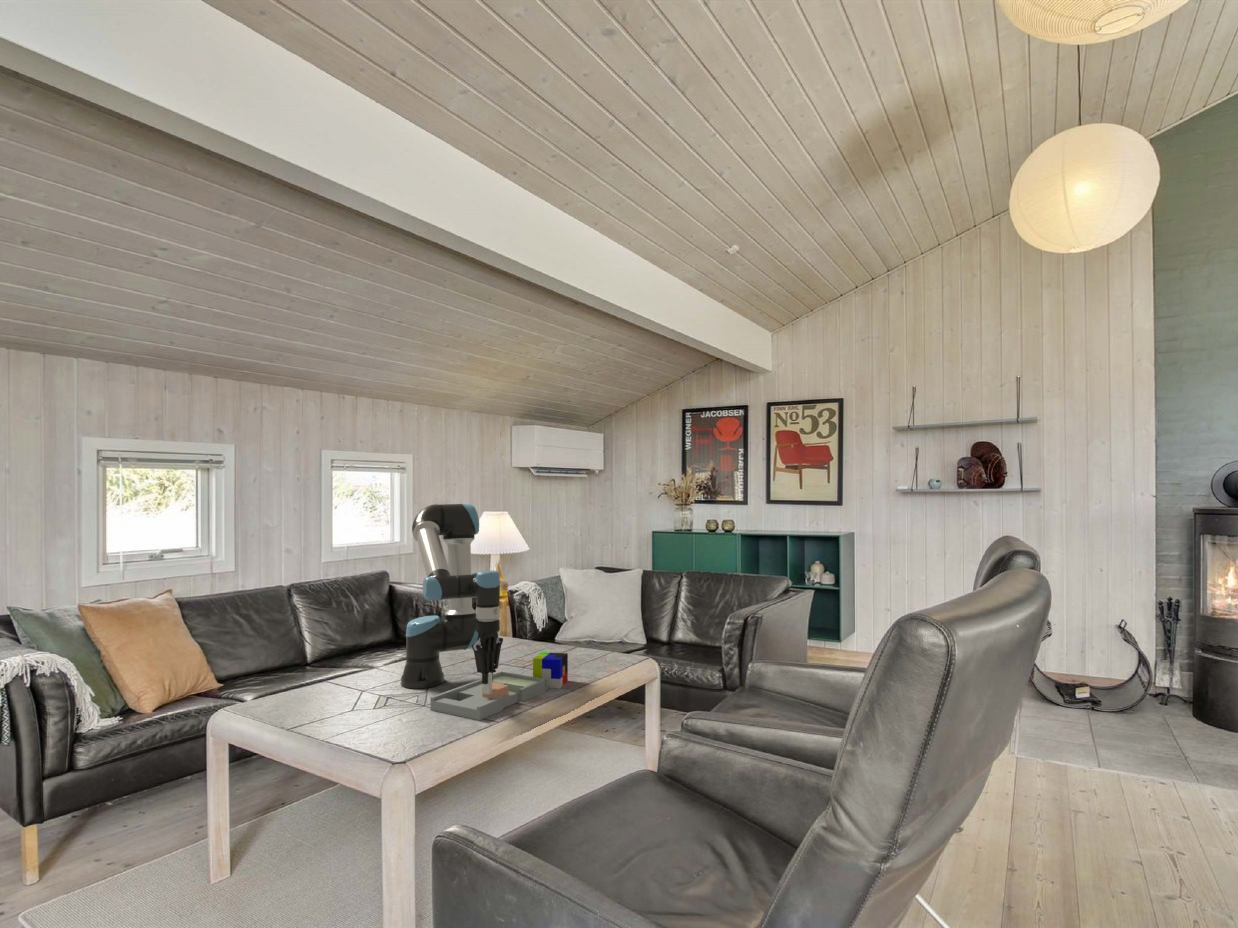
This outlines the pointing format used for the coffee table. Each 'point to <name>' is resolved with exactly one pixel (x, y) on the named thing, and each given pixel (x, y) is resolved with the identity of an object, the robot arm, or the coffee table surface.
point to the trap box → (477, 707)
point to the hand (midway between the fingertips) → (487, 693)
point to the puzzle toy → (551, 668)
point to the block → (497, 691)
